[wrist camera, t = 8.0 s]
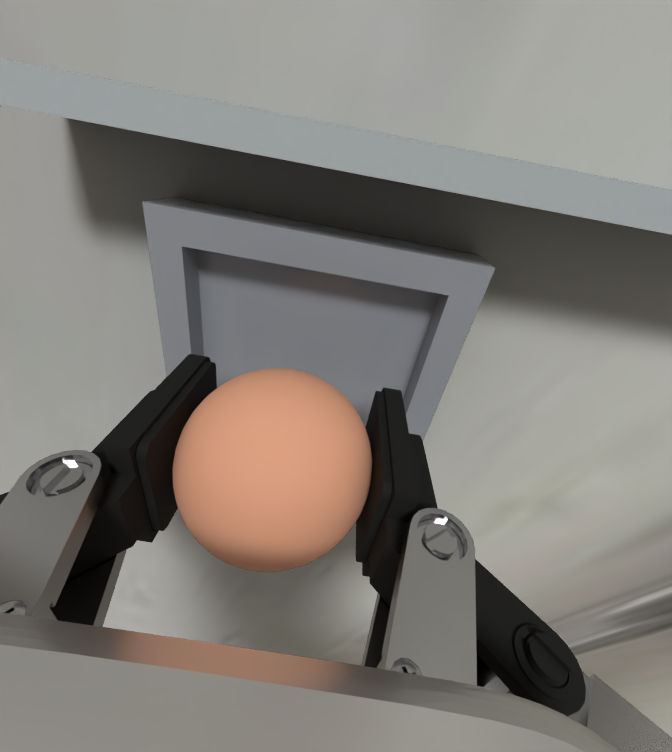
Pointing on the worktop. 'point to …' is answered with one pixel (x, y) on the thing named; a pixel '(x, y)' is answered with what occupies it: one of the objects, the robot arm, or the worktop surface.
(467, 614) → the robot arm
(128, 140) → the worktop surface
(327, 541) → the ball
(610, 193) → the wall
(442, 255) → the dish
